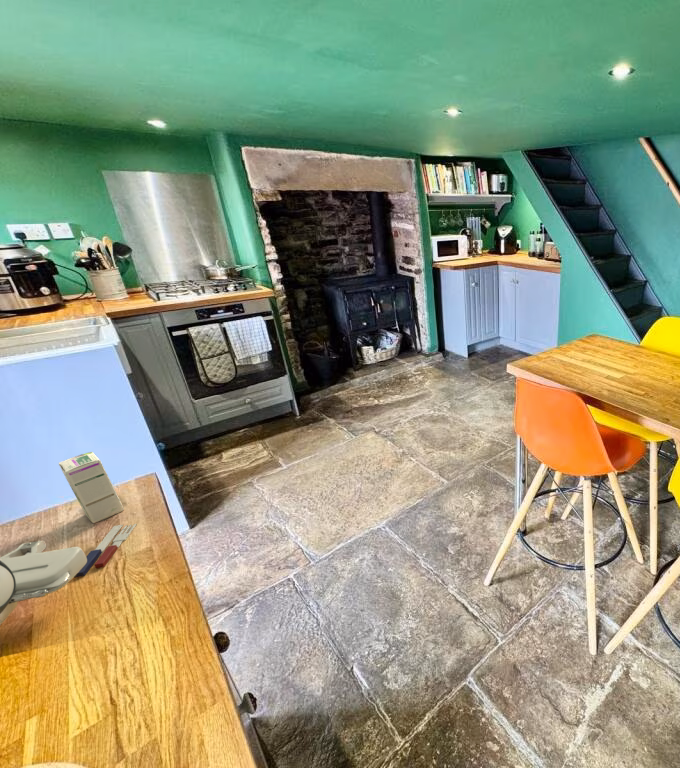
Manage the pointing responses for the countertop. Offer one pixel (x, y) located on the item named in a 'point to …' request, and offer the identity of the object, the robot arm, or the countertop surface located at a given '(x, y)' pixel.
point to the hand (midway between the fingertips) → (35, 544)
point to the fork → (114, 546)
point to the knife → (98, 551)
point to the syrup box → (91, 486)
